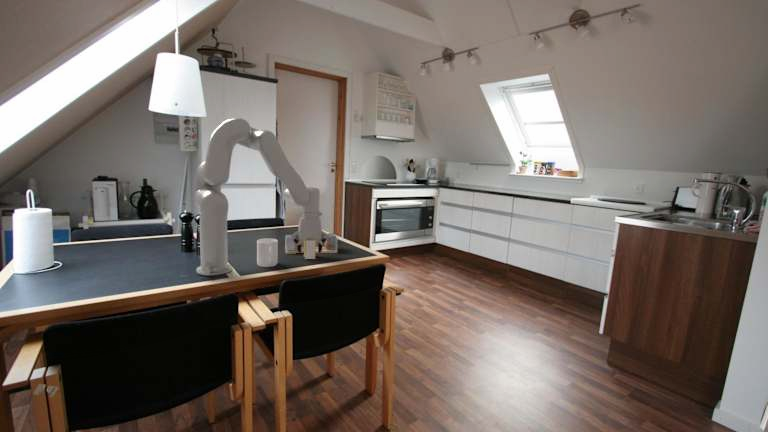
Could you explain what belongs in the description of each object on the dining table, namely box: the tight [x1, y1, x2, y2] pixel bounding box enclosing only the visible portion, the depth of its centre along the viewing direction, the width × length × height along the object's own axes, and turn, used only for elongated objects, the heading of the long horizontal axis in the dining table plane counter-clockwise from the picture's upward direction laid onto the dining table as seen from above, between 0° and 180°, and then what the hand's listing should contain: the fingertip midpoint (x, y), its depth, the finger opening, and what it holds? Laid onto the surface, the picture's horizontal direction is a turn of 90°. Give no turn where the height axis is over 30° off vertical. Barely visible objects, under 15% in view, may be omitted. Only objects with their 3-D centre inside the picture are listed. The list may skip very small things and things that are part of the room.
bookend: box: [284, 234, 295, 250], centre depth 174 cm, size 6×4×6 cm, turn 18°
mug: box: [256, 237, 279, 268], centre depth 151 cm, size 12×8×10 cm
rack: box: [284, 232, 339, 255], centre depth 177 cm, size 9×24×8 cm, turn 108°
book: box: [303, 239, 317, 260], centre depth 166 cm, size 7×4×9 cm, turn 18°
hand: (309, 252), depth 167 cm, fingers open, 8 cm apart
